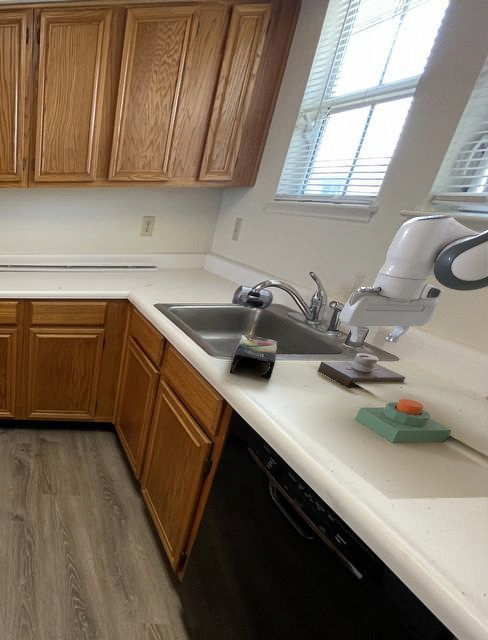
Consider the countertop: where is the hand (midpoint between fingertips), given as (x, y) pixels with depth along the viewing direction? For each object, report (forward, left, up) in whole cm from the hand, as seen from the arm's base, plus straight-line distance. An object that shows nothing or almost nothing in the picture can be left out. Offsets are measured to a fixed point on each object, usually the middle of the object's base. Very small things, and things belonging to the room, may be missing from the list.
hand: (372, 341), depth 105 cm
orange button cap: (+12, +24, -6) cm, 28 cm away
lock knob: (0, 0, -7) cm, 7 cm away
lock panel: (0, 0, -11) cm, 11 cm away
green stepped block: (+12, +24, -11) cm, 29 cm away
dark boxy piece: (+23, -9, -11) cm, 27 cm away
